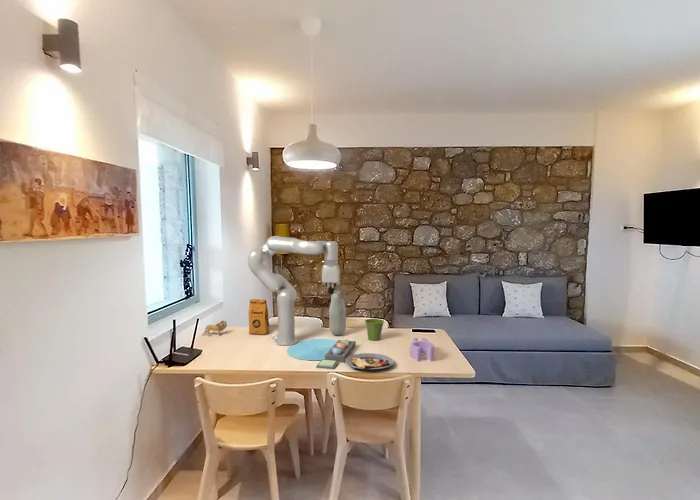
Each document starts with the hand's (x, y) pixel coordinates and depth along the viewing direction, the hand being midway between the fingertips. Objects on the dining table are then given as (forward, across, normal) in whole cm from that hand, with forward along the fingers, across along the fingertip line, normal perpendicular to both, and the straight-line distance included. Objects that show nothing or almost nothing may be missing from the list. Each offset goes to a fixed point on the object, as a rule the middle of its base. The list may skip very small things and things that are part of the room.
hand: (331, 294), depth 251 cm
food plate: (+29, +28, -30) cm, 50 cm away
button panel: (+29, +10, -16) cm, 35 cm away
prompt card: (+29, +8, -36) cm, 47 cm away
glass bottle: (+29, -1, +19) cm, 35 cm away
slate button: (+28, +10, -25) cm, 38 cm away
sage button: (+29, +10, -7) cm, 31 cm away
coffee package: (+29, -50, +11) cm, 59 cm away
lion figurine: (+30, -75, +1) cm, 80 cm away
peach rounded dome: (+28, +10, -16) cm, 33 cm away
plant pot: (+29, +23, +15) cm, 40 cm away
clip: (+29, +53, -9) cm, 61 cm away
